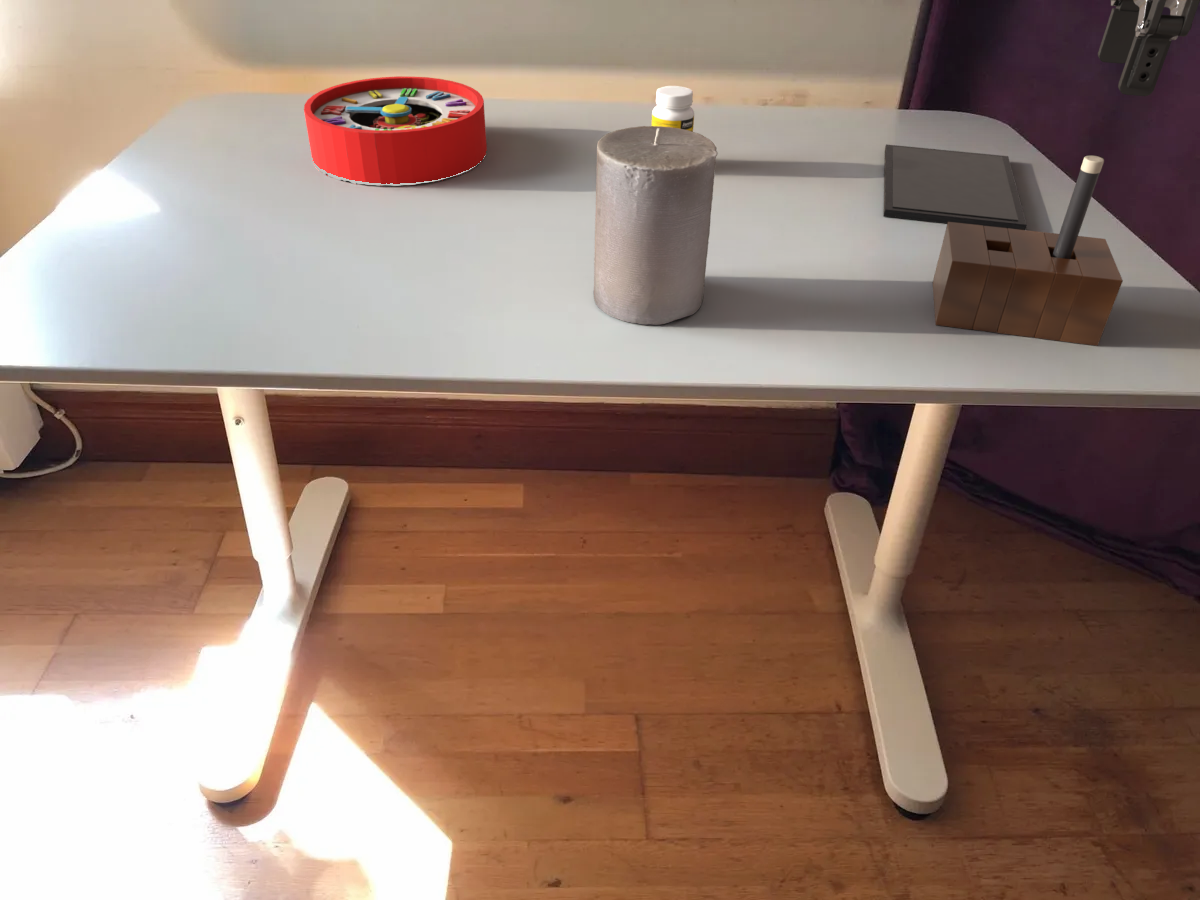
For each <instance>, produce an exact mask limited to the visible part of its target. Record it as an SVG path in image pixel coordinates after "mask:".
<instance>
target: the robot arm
mask: <svg viewBox="0 0 1200 900" xmlns="http://www.w3.org/2000/svg"><path fill="white" fill-rule="evenodd" d="M1199 4H1200V0H1110V6H1111V7H1112V8H1111V11H1110V15H1109V17H1108V21H1107V24H1106V27H1105V30H1104V33H1103V36H1102V39H1101V42H1100V45H1099V49H1098V52H1097V57H1098V59H1099V61H1101V63H1111V64H1121V65H1122V64H1124V67H1123V69H1122V72H1121V75H1120V78H1119V81H1118V84H1117V88H1118V90H1119V92H1120V93H1121V94H1122V95H1125V96H1126V95H1127V96H1136V97H1137V96H1138V97H1148V96H1150V95H1151V94H1152V93H1153V92H1154V90H1155V88H1156V85H1157V83H1158V80H1159V77H1160V74H1161V72H1162V68H1163V66H1164V63H1165V61H1166V57H1167V56H1168V52H1169V50H1170V47H1171V44H1172V41H1176V40H1177V39H1178V37H1182V38H1183V37H1185V38H1186V37H1187V36H1188V34H1189V32H1190V31H1191V30H1192V27H1193V21H1194V20H1195V16H1196V13H1197V10H1198V7H1199ZM1165 8H1167V9H1169V12H1170V13H1169V14H1163V12H1164V9H1165Z"/></svg>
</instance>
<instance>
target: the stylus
mask: <svg viewBox="0 0 1200 900" xmlns="http://www.w3.org/2000/svg"><path fill="white" fill-rule="evenodd" d="M1104 163H1105V159H1104V158H1103V157H1100V156H1097V155H1086V156H1084V157H1083V160H1082V163H1081V166H1080V170H1079V173H1078V176H1077V179H1076V183H1075V185H1074V188H1073V191H1072V193H1071V197H1070V200H1069V203H1068V206H1067V210H1066V213H1065V215H1064V218H1063V222H1062V225H1061V228H1060V230H1059V233H1058V234H1059V236H1058V239H1057V242H1056V245H1055V248H1054V251H1053V254H1052V257H1056V258H1064V259H1070V258H1071V255H1072V252H1073V249H1074V246H1075V243H1076V240H1077V237H1078V236H1079V234H1080V232H1081V228H1082V225H1083V223H1084V220H1085V218H1086V217H1085V216H1086V214H1087V211H1088V208H1089V206H1090V203H1091V199H1092V197H1093V193H1094V191H1095V188H1096V185H1097V182H1098V179H1099V176H1100V173H1101V171H1102V169H1103V166H1104Z"/></svg>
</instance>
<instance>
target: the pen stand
mask: <svg viewBox="0 0 1200 900" xmlns="http://www.w3.org/2000/svg"><path fill="white" fill-rule="evenodd" d="M945 228H946V229H945V231H944V235H943V239H942V243H941V247H940V251H939V255H938V259H937V263H936V267H935V270H934V275H933V279H932V295H933V297H932V298H933V311H934V323H935V325H936V326H942V327H947V328H948V327H949V328H956V329H965V330H973V331H981V332H987V333H989V332H990V333H995V334H996V333H997V334H1003V335H1010V336H1011V335H1012V336H1019V337H1025V338H1035V339H1040V340H1041V339H1042V340H1048V341H1049V340H1050V341H1058V342H1064V343H1071V344H1072V343H1073V344H1080V345H1088V346H1096V347H1098V346H1099V344H1100V341H1101V338H1102V337H1103V333H1104V330H1105V328H1106V326H1107V323H1108V320H1109V318H1110V315H1111V314H1112V313H1111V312H1112V311H1113V308H1114V305H1115V303H1116V300H1117V297H1118V294H1119V292H1120V289H1121V287H1122V284H1123V281H1124V280H1123V277H1122V275H1121V273H1120V271H1119V268H1118V266H1117V263H1116V260H1115V259H1114V257H1113V254H1112V252H1111V248H1110V246H1109V244H1108V242H1107V239H1106V238H1102V237H1094V236H1093V237H1092V236H1083V235H1078V237H1077V240H1076V243H1075V246H1074V249H1073V252H1072V255H1071V258H1070V259H1064V258H1056V257H1052V254H1053V251H1054V248H1055V245H1056V242H1057V239H1058V236H1059V233H1055V232H1047V231H1036V230H1027V229H1026V230H1019V229H1010V228H1008V229H1007V228H1000V227H991V226H983V225H973V224H964V223H955V222H948V223H946V227H945Z"/></svg>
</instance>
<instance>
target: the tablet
mask: <svg viewBox="0 0 1200 900" xmlns="http://www.w3.org/2000/svg"><path fill="white" fill-rule="evenodd" d="M883 158H884V161H883V162H884V165H883V167H884V168H883V169H884V170H883V208H882V209H883V210H882V213H883V214H882V216H883V217H884V218H892V219H903V220H910V221H919V222H930V223H939V224H947V223H948V222H955V223H964V224H973V225H983V226H991V227H1000V228H1007V229H1008V228H1010V229H1019V230H1027V226H1028V224H1027V221H1026V217H1025V213H1024V210H1023V206H1022V205H1023V204H1022V202H1021V199H1020V195H1019V192H1018V187H1017V184H1016V183H1017V182H1016V180H1015V176H1014V173H1013V168H1012V166H1011V162H1010V158H1009V156H1008V155H1001V154H989V153H978V152H971V151H970V152H968V151H959V150H958V151H957V150H947V149H937V148H929V147H928V148H927V147H916V146H906V145H895V144H885V147H884V157H883Z"/></svg>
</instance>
